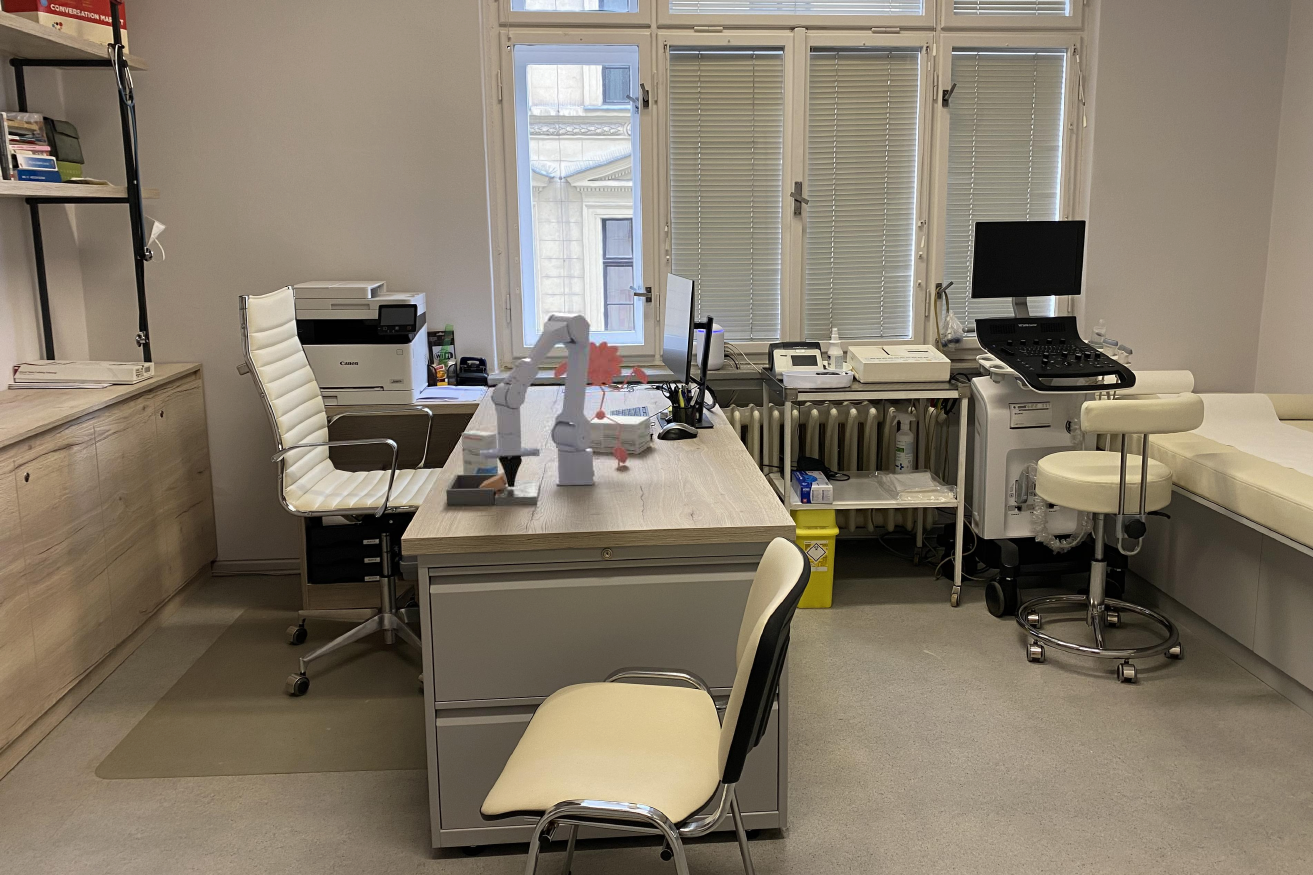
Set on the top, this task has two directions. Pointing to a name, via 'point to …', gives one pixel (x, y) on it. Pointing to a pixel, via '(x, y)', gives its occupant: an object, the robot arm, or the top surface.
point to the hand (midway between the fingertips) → (510, 486)
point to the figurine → (605, 380)
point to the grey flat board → (519, 494)
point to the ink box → (478, 452)
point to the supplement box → (631, 434)
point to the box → (470, 491)
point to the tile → (495, 482)
